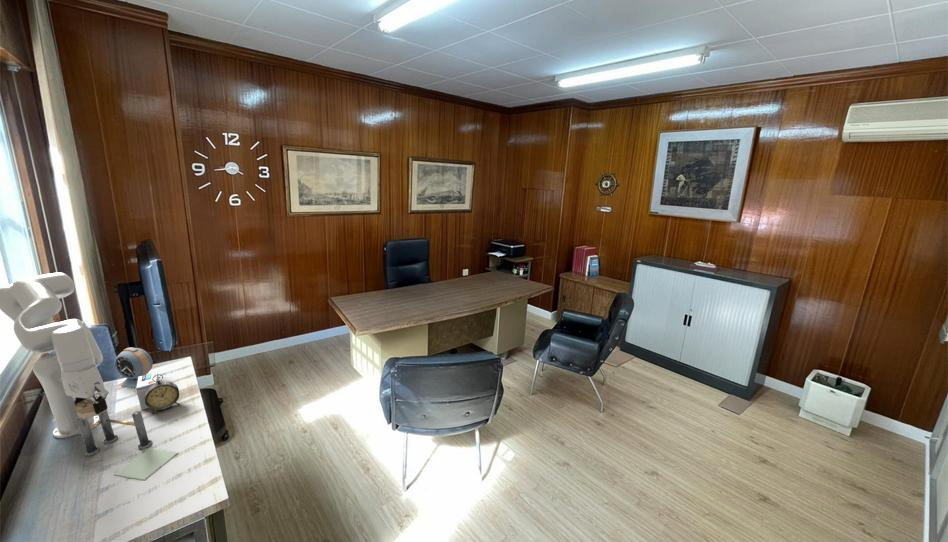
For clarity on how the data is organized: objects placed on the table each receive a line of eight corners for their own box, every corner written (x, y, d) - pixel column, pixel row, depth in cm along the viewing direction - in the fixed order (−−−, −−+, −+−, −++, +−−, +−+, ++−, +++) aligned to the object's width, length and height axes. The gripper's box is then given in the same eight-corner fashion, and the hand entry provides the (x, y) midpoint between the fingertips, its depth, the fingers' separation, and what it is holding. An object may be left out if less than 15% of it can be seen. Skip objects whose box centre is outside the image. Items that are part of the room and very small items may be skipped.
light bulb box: (143, 397, 161) (137, 376, 158) (162, 392, 165) (157, 371, 162) (140, 410, 153) (134, 388, 150) (161, 404, 157) (156, 382, 154)
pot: (73, 417, 121) (70, 406, 120) (96, 404, 127) (93, 395, 126) (90, 419, 120) (87, 409, 119) (112, 407, 126) (109, 397, 125)
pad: (113, 475, 121) (113, 474, 121) (149, 448, 133) (149, 447, 133) (144, 480, 120) (144, 479, 120) (178, 453, 131) (178, 452, 131)
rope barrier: (81, 455, 129) (70, 422, 125) (112, 435, 138) (102, 404, 134) (126, 463, 126) (116, 429, 122) (155, 442, 136) (146, 410, 132)
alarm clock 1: (115, 385, 168) (105, 351, 164) (137, 374, 178) (128, 341, 173) (141, 389, 166) (131, 355, 161) (162, 377, 176) (153, 344, 171)
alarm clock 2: (148, 416, 149) (139, 382, 144) (148, 410, 153) (139, 376, 148) (182, 405, 156) (174, 372, 152) (181, 399, 160) (173, 367, 155)
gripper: (41, 366, 116) (57, 414, 121) (86, 372, 113) (101, 420, 118) (69, 354, 123) (84, 400, 128) (113, 360, 120) (126, 406, 125)
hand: (92, 409), depth 123 cm, fingers closed on pot, 6 cm apart
